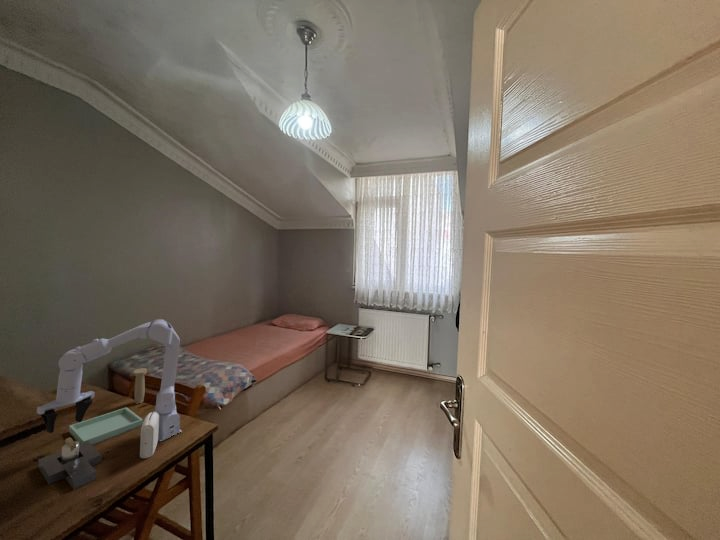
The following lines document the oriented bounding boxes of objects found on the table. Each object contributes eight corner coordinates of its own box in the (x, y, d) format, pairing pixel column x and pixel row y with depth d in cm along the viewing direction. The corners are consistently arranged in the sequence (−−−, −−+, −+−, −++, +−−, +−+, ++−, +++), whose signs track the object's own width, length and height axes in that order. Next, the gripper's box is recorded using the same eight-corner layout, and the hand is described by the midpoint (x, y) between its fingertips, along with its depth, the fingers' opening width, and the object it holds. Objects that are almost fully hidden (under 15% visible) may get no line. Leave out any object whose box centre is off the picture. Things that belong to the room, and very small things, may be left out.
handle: (146, 398, 139) (147, 367, 139) (144, 404, 134) (145, 372, 133) (133, 400, 137) (135, 368, 136) (131, 406, 131) (132, 373, 131)
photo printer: (153, 457, 100) (154, 421, 100) (138, 460, 98) (139, 424, 98) (159, 440, 109) (160, 407, 109) (145, 442, 108) (146, 409, 107)
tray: (142, 425, 118) (143, 419, 118) (83, 448, 102) (83, 441, 102) (126, 412, 126) (126, 407, 126) (69, 432, 111) (69, 425, 111)
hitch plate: (110, 472, 92) (110, 464, 92) (56, 497, 82) (56, 488, 82) (88, 448, 103) (88, 441, 103) (38, 467, 92) (38, 459, 92)
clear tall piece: (81, 465, 94) (82, 441, 94) (64, 472, 91) (65, 448, 91) (75, 457, 98) (76, 435, 97) (58, 464, 94) (59, 441, 94)
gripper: (87, 377, 107) (82, 414, 107) (33, 391, 93) (27, 433, 93) (100, 381, 105) (95, 418, 105) (46, 396, 91) (41, 439, 91)
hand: (64, 426), depth 99 cm, fingers open, 7 cm apart
